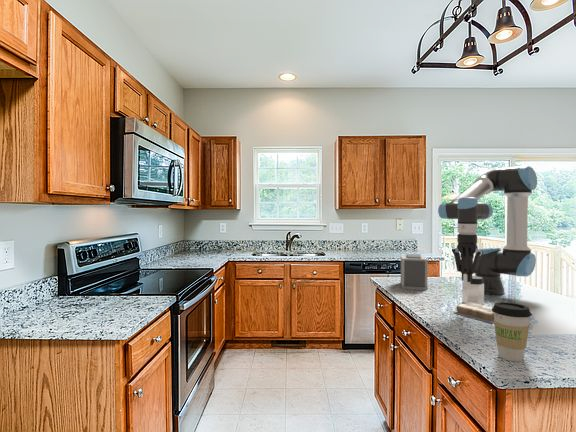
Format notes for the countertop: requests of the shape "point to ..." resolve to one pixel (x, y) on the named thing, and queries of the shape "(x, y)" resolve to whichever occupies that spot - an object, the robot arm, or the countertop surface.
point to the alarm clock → (414, 272)
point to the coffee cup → (511, 329)
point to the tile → (476, 310)
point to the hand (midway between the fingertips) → (466, 289)
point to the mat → (475, 317)
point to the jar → (474, 291)
